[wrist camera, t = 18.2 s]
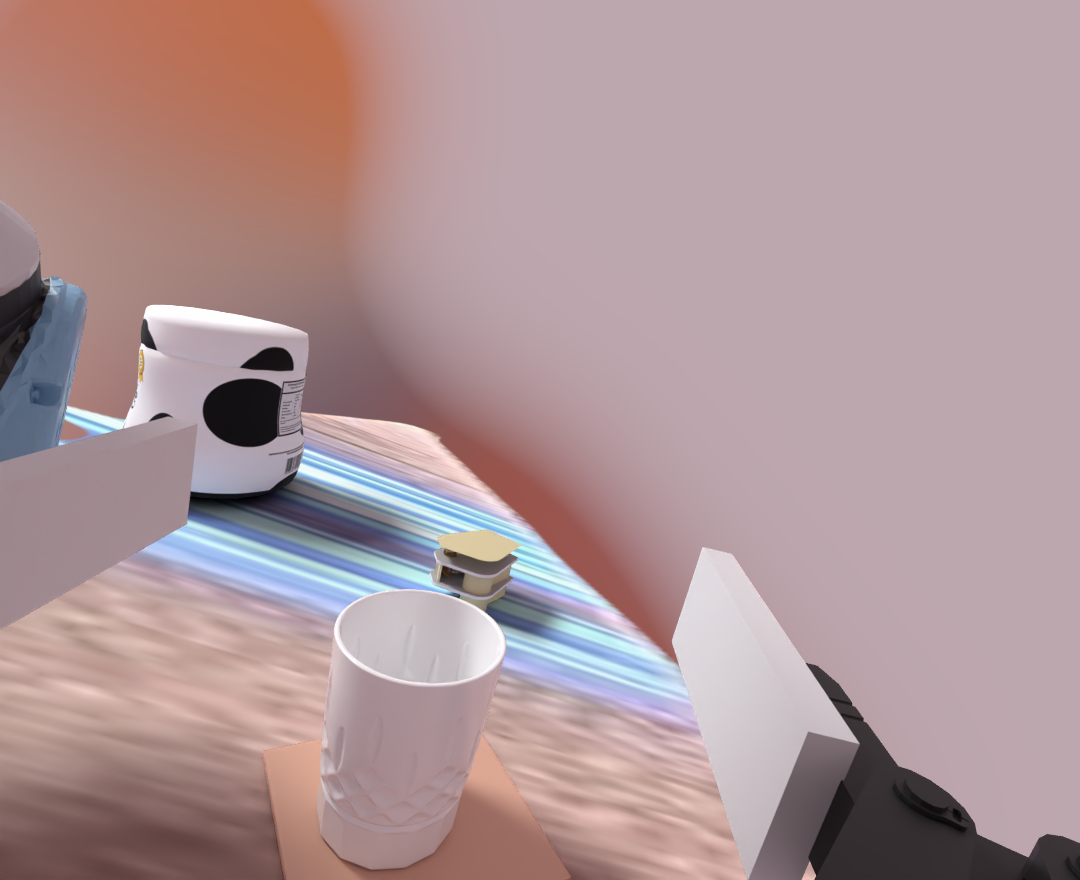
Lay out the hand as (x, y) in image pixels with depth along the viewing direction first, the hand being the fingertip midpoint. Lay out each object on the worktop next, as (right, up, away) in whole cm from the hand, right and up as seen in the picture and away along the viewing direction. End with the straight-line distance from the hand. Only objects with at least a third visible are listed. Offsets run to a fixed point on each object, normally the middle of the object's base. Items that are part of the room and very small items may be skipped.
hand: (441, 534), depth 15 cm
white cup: (-5, -16, +14) cm, 22 cm away
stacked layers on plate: (-4, -12, +38) cm, 40 cm away
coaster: (-4, -17, +15) cm, 22 cm away
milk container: (-34, -3, +50) cm, 61 cm away
